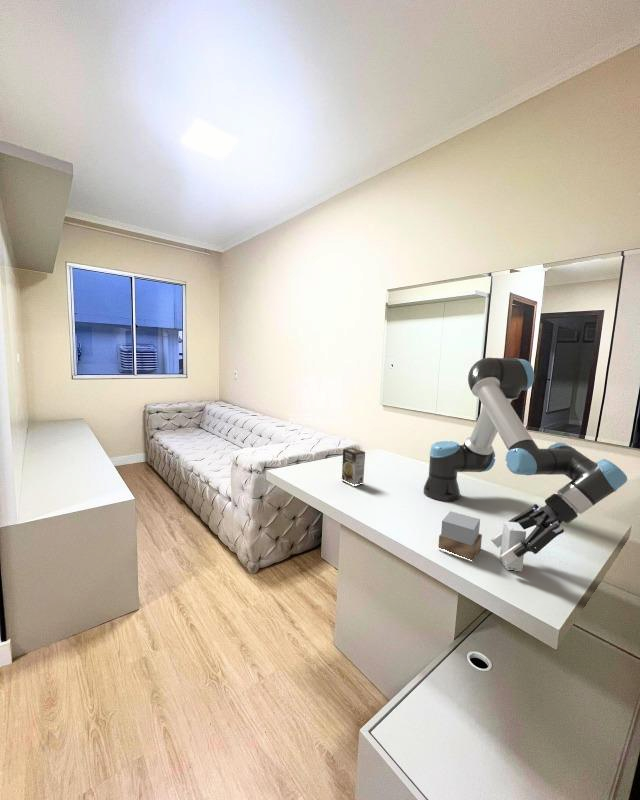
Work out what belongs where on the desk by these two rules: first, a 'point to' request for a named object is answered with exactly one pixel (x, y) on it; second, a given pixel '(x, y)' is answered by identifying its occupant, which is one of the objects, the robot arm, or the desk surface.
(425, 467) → the desk surface
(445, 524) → the tower top block
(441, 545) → the tower base block
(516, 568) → the skincare box
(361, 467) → the coffee box
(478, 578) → the desk surface
